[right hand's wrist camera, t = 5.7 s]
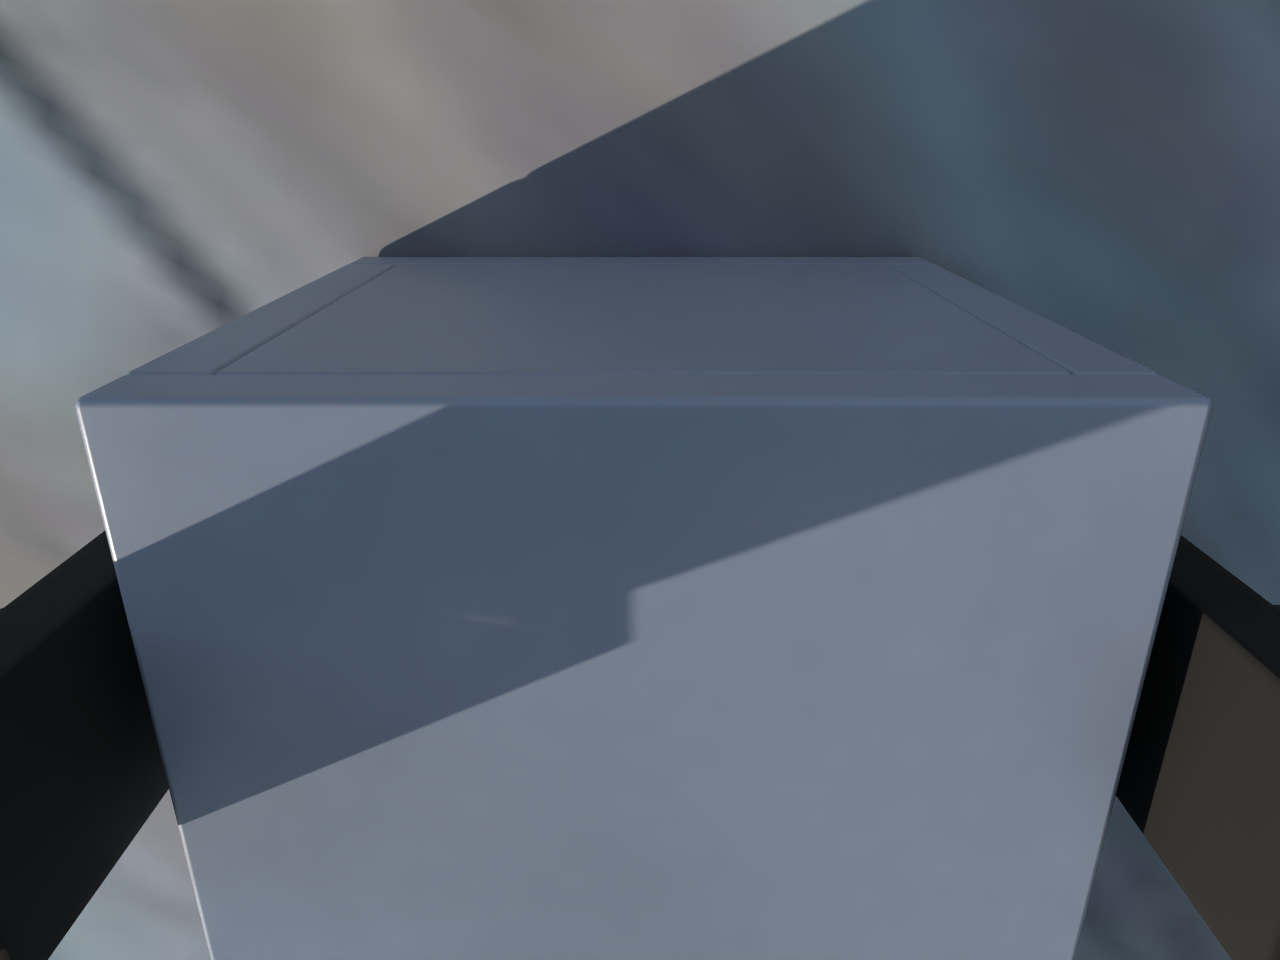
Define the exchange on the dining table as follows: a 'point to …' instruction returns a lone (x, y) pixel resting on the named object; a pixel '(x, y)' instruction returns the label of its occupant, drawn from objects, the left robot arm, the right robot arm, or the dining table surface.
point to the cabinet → (643, 608)
